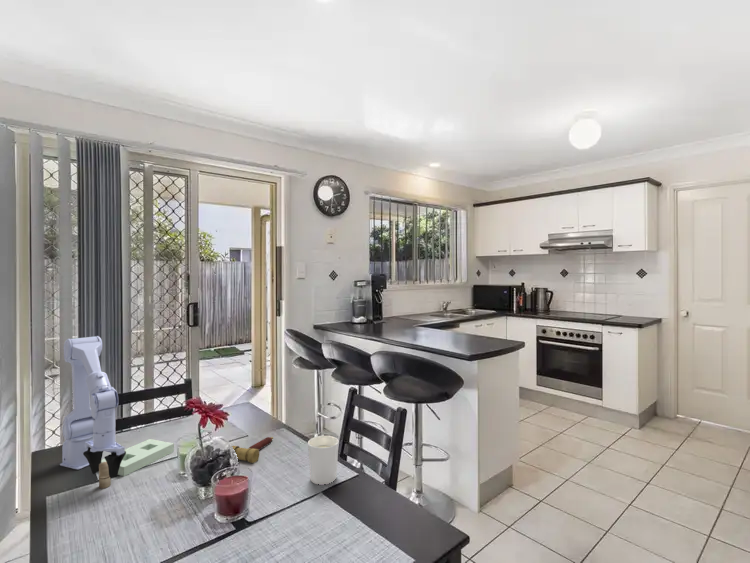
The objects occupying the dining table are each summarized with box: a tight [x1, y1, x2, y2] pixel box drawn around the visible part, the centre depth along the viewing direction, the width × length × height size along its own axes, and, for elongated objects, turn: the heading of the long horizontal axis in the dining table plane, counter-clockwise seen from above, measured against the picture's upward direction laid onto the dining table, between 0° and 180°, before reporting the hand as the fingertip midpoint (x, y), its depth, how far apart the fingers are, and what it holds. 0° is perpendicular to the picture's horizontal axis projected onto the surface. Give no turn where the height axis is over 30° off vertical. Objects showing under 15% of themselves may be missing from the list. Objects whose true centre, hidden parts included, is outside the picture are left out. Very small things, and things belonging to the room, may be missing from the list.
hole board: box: [101, 438, 175, 477], centre depth 145 cm, size 12×20×3 cm, turn 160°
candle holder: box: [307, 435, 340, 486], centre depth 132 cm, size 10×10×12 cm
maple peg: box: [98, 462, 112, 490], centre depth 127 cm, size 3×3×7 cm
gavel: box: [231, 436, 274, 464], centre depth 153 cm, size 21×5×10 cm
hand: (104, 474), depth 127 cm, fingers open, 7 cm apart
